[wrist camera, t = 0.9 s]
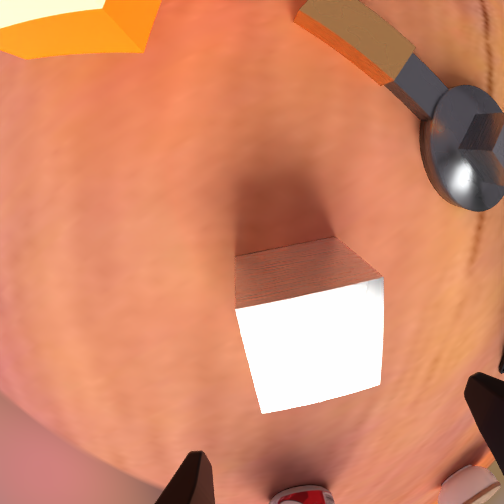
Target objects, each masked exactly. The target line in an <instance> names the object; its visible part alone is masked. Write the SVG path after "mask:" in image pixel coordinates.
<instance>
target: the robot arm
mask: <svg viewBox="0 0 504 504" xmlns="http://www.w3.org/2000/svg"><path fill="white" fill-rule="evenodd" d="M499 372H500V373H501V374H502V373H504V356H503V359H502V362H501V365H500V368H499ZM464 397H465V400H466V402H467V404H468V406H469V408H470V410H471V413H472V415H473V417H474V419H475V422H476V424H477V426H478V428H479V430H480V432H481V434H482V436H483V438H484V439H485V441H486V443H487V445H488V447H489V448H490V450H491V452H492V454H493V456H494V458H495V460H496V461H497V463H498V465H499V467H500V469H501V471H502V473H503V475H504V381H502V380H499V379H497V378H494V377H492V376H489V375H486V374H484V373H481V372H477V373H475V374H473V375H471V376H470V377H469V379H468V382H467V385H466V388H465V391H464ZM155 504H215V498H214V487H213V474H212V466H211V463H210V462H209V460H208V458H207V456H206V455H205V453H204V452H203V451H191V452H189V453H188V455H187V456H186V458H185V459H184V461H183V463H182V464H181V466H180V467H179V469H178V470H177V472H176V473H175V475H174V476H173V478H172V479H171V481H170V482H169V483H168V485H167V486H166V488H165V489H164V491H163V492H162V494H161V495H160V497H159V498H158V500H157V501H156V503H155Z"/></svg>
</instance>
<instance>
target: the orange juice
mask: <svg viewBox="0 0 504 504" xmlns="http://www.w3.org/2000/svg"><path fill="white" fill-rule="evenodd" d="M161 1H162V0H0V50H1V51H4V52H7V53H10V54H13V55H15V56H18V57H21V58H23V59H26V60H27V59H34V58H41V57H49V56H58V55H69V54H83V53H110V52H129V53H144V50H145V47H146V44H147V40H148V37H149V34H150V31H151V28H152V25H153V23H154V20H155V17H156V14H157V11H158V9H159V6H160V3H161Z"/></svg>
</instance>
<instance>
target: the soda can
mask: <svg viewBox="0 0 504 504" xmlns="http://www.w3.org/2000/svg"><path fill="white" fill-rule="evenodd" d="M269 504H335V503H334V500H333V497H332V494H331V492H330V491H328V490H327V489H325V488H323V487H321V486H316V485H306V486H299V487H294V488H290V489H287V490H284V491H282V492H280V493H278V494H277V495H275V496H274V497H273V499H272V500H271V501H270V502H269Z"/></svg>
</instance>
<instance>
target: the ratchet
mask: <svg viewBox="0 0 504 504" xmlns="http://www.w3.org/2000/svg"><path fill="white" fill-rule="evenodd" d="M293 22H294V23H296V24H297V25H299V26H301V27H302V28H304V29H305V30H307V31H308V32H310V33H312V34H313V35H315V36H316V37H318V38H319V39H320V40H322V41H323V42H325V43H326V44H328V45H329V46H331V47H332V48H333V49H335V50H336V51H337V52H339V53H340V54H342V55H343V56H344V57H346V58H347V59H348V60H349V61H351V62H352V63H353V64H355V65H356V66H357V67H358V68H360V69H361V70H362V71H363V72H365V73H366V74H367V75H368V76H369V77H371V78H372V79H373V80H374V81H375V82H377V83H378V84H379V85H380V86H382V85H384V86H385V87H386V88H388V89H389V90H390V91H391V92H392V93H393V94H394V95H395V96H396V97H397V98H399V99H400V100H401V101H402V102H403V103H404V104H405V105H406V106H407V107H408V108H409V109H410V110H411V111H412V112H413V113H414V114H415V115H416V116H417V117H418V118H419V119H420V120H421V125H420V151H421V156H422V161H423V165H424V168H425V171H426V173H427V176H428V178H429V180H430V182H431V184H432V185H433V187H434V188H435V190H436V191H437V192H438V194H439V195H440V196H441V197H442V198H443V199H445V200H446V201H447V202H449V203H451V204H453V205H455V206H458V207H462V208H465V209H468V210H471V211H477V212H480V211H485V210H488V209H490V208H492V207H493V206H495V205H496V204H497V203H498V202H499V201H500V200H501V199H502V197H503V196H504V113H503V112H502V111H501V109H500V107H499V106H498V105H497V103H496V102H495V101H494V100H493V99H492V98H491V96H489V95H488V94H487V93H486V92H484V91H483V90H481V89H479V88H477V87H475V86H471V85H461V86H456V87H452V88H447V87H446V86H445V85H444V84H443V83H442V82H441V81H440V80H439V78H438V77H437V76H436V75H435V74H434V73H433V72H432V71H431V70H430V69H429V68H428V67H427V66H426V65H425V64H424V63H423V62H422V61H421V60H420V59H419V58H418V57H417V56H416V55H415V54H414V53H413V51H414V50H415V48H416V47H415V46H414V45H413V44H412V43H411V42H410V41H408V40H407V39H406V38H405V37H404V36H403V35H402V34H401V33H399V32H398V31H397V30H396V29H395V28H393V27H392V26H391V25H390V24H389V23H387V22H386V21H385V20H384V19H382V18H381V17H380V16H379V15H377V14H376V13H375V12H374V11H372V10H371V9H370V8H368V7H367V6H365V5H364V4H363V3H361V2H360V1H359V0H308V1H307V2H306V3H305V4H304V5H303V6H302V7H301V8H300V9H299V11H298V13H297V15H296V17H295V19H294V21H293Z"/></svg>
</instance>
